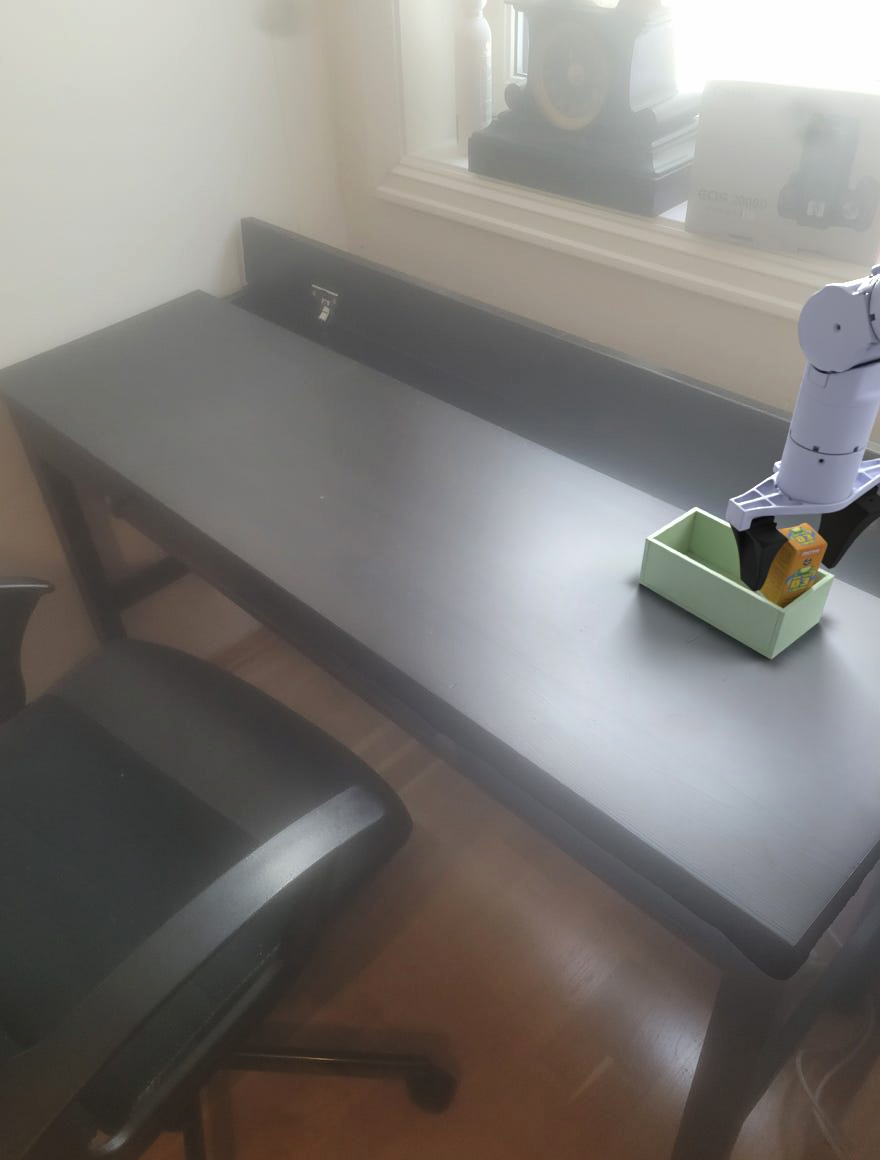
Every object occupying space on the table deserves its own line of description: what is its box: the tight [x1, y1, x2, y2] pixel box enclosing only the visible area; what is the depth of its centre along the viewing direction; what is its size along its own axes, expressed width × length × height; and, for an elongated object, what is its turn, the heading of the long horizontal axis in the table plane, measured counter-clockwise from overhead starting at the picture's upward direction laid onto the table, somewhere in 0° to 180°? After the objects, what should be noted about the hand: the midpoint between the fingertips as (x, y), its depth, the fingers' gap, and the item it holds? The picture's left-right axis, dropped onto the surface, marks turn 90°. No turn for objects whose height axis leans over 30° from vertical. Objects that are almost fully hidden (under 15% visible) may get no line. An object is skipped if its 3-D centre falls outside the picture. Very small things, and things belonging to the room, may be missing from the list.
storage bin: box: [638, 506, 835, 660], centre depth 84 cm, size 15×8×6 cm, turn 39°
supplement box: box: [755, 522, 827, 609], centre depth 79 cm, size 3×3×10 cm
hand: (787, 573), depth 79 cm, fingers open, 7 cm apart
